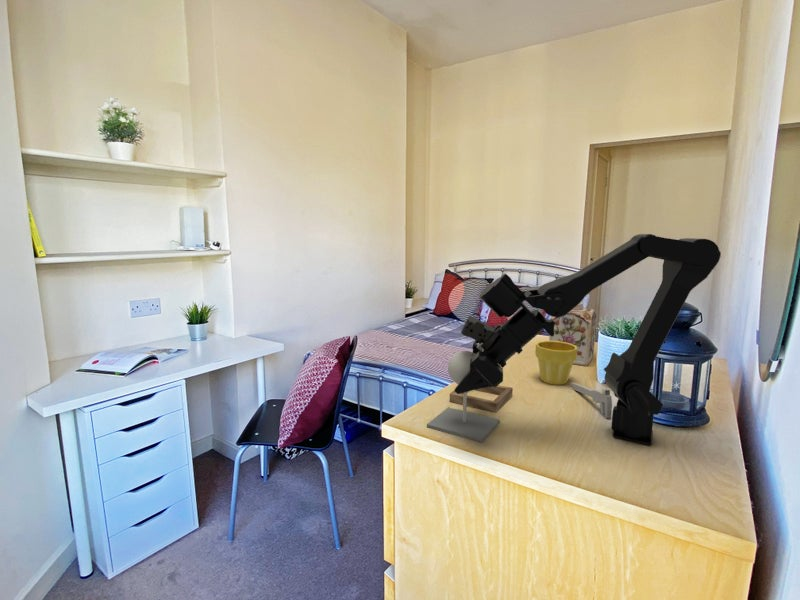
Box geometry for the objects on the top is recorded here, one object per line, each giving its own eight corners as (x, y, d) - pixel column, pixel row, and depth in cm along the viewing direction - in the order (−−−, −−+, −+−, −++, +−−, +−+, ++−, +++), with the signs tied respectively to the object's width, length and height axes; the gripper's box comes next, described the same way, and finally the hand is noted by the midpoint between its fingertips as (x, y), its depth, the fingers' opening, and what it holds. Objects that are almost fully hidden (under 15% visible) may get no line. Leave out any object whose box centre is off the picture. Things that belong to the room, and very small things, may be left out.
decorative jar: (594, 357, 134) (598, 301, 131) (588, 367, 124) (592, 306, 121) (555, 351, 140) (558, 298, 137) (546, 360, 130) (549, 303, 128)
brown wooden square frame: (512, 395, 103) (512, 387, 102) (496, 412, 93) (496, 403, 93) (468, 386, 109) (468, 379, 108) (449, 401, 99) (449, 393, 99)
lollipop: (475, 413, 91) (477, 346, 89) (487, 428, 84) (489, 355, 82) (443, 415, 90) (444, 347, 88) (452, 430, 83) (453, 357, 81)
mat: (499, 422, 88) (500, 419, 88) (482, 442, 80) (482, 439, 80) (448, 409, 95) (448, 407, 94) (426, 427, 86) (426, 424, 86)
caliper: (611, 420, 89) (613, 392, 88) (606, 420, 89) (608, 392, 88) (572, 385, 110) (573, 362, 109) (568, 385, 110) (569, 362, 109)
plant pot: (581, 380, 113) (583, 344, 112) (565, 390, 106) (567, 352, 104) (544, 371, 120) (546, 338, 119) (527, 380, 113) (528, 345, 111)
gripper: (486, 296, 91) (436, 343, 95) (485, 312, 73) (423, 369, 77) (523, 333, 91) (470, 379, 95) (530, 358, 73) (465, 413, 77)
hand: (457, 383), depth 86 cm, fingers open, 9 cm apart
